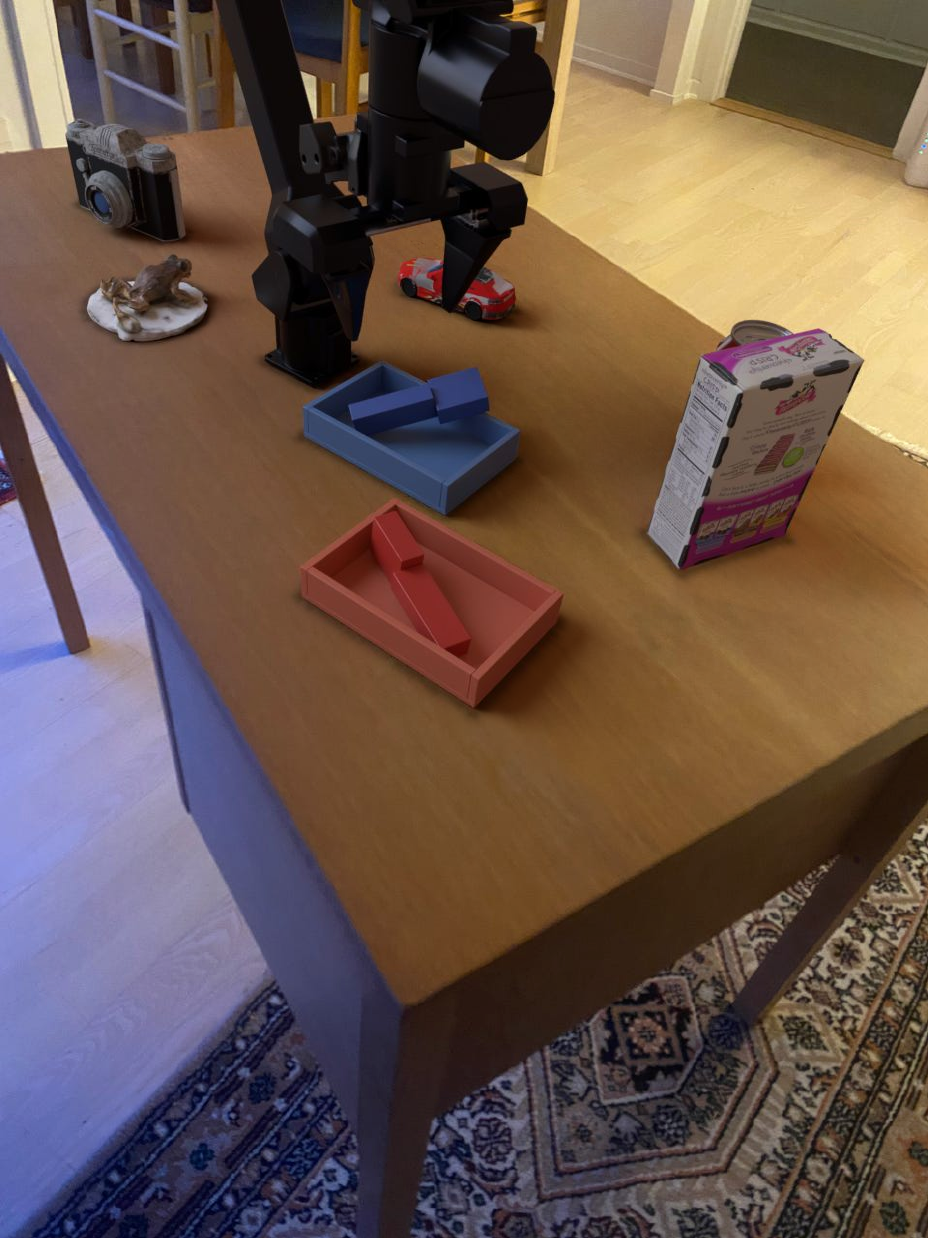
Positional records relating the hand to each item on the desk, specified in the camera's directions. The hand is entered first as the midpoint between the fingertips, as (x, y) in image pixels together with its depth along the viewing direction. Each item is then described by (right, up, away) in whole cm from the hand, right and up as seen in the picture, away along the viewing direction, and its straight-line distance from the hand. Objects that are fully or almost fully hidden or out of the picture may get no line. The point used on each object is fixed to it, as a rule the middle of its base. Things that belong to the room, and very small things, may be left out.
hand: (401, 324), depth 70 cm
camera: (-33, +21, +30) cm, 49 cm away
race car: (+4, +11, +25) cm, 28 cm away
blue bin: (0, -8, +7) cm, 11 cm away
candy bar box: (+25, -16, +3) cm, 30 cm away
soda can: (+28, -9, +10) cm, 31 cm away
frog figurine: (-26, +8, +18) cm, 33 cm away
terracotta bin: (+2, -22, -6) cm, 23 cm away
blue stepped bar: (+1, -6, +7) cm, 9 cm away
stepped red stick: (+3, -21, -7) cm, 22 cm away
